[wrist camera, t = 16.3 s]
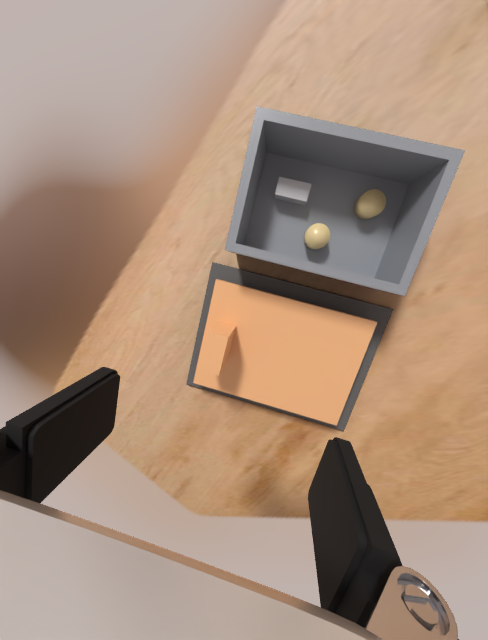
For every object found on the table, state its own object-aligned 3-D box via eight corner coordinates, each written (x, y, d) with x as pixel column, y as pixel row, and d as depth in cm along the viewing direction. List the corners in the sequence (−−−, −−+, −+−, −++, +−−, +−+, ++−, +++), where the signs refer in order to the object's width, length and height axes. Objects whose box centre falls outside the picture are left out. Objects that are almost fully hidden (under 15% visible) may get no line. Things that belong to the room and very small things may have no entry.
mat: (391, 308, 34) (393, 309, 33) (342, 428, 39) (343, 430, 38) (213, 262, 36) (212, 262, 35) (187, 382, 40) (186, 384, 40)
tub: (416, 180, 30) (464, 150, 23) (375, 289, 34) (404, 296, 26) (261, 145, 32) (256, 106, 24) (236, 253, 35) (224, 249, 27)
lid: (370, 318, 34) (400, 334, 26) (332, 415, 38) (348, 456, 30) (219, 278, 36) (203, 281, 27) (198, 375, 39) (177, 404, 31)
